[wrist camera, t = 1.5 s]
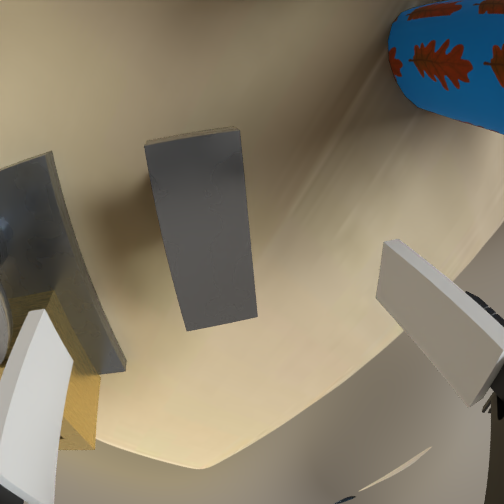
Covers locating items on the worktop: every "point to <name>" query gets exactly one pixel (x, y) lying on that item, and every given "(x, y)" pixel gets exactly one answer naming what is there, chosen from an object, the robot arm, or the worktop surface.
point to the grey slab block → (204, 224)
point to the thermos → (452, 59)
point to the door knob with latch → (53, 289)
